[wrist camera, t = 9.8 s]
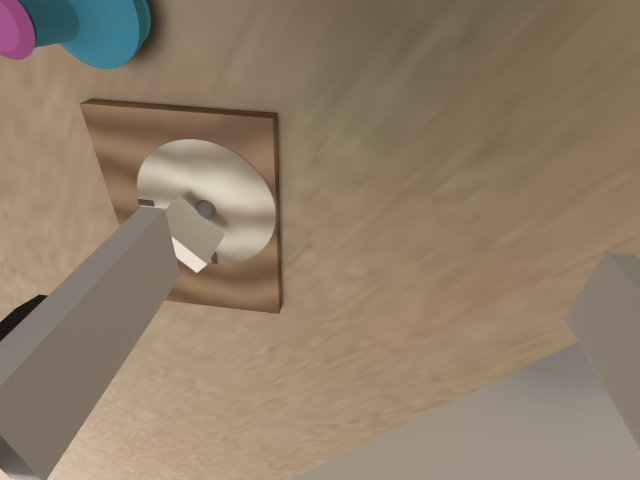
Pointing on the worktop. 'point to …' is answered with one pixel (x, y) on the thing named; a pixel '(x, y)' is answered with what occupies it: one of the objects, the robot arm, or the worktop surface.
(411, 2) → the worktop surface
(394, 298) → the worktop surface
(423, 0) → the worktop surface
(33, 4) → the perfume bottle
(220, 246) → the tuner board
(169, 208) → the beige block with bar
